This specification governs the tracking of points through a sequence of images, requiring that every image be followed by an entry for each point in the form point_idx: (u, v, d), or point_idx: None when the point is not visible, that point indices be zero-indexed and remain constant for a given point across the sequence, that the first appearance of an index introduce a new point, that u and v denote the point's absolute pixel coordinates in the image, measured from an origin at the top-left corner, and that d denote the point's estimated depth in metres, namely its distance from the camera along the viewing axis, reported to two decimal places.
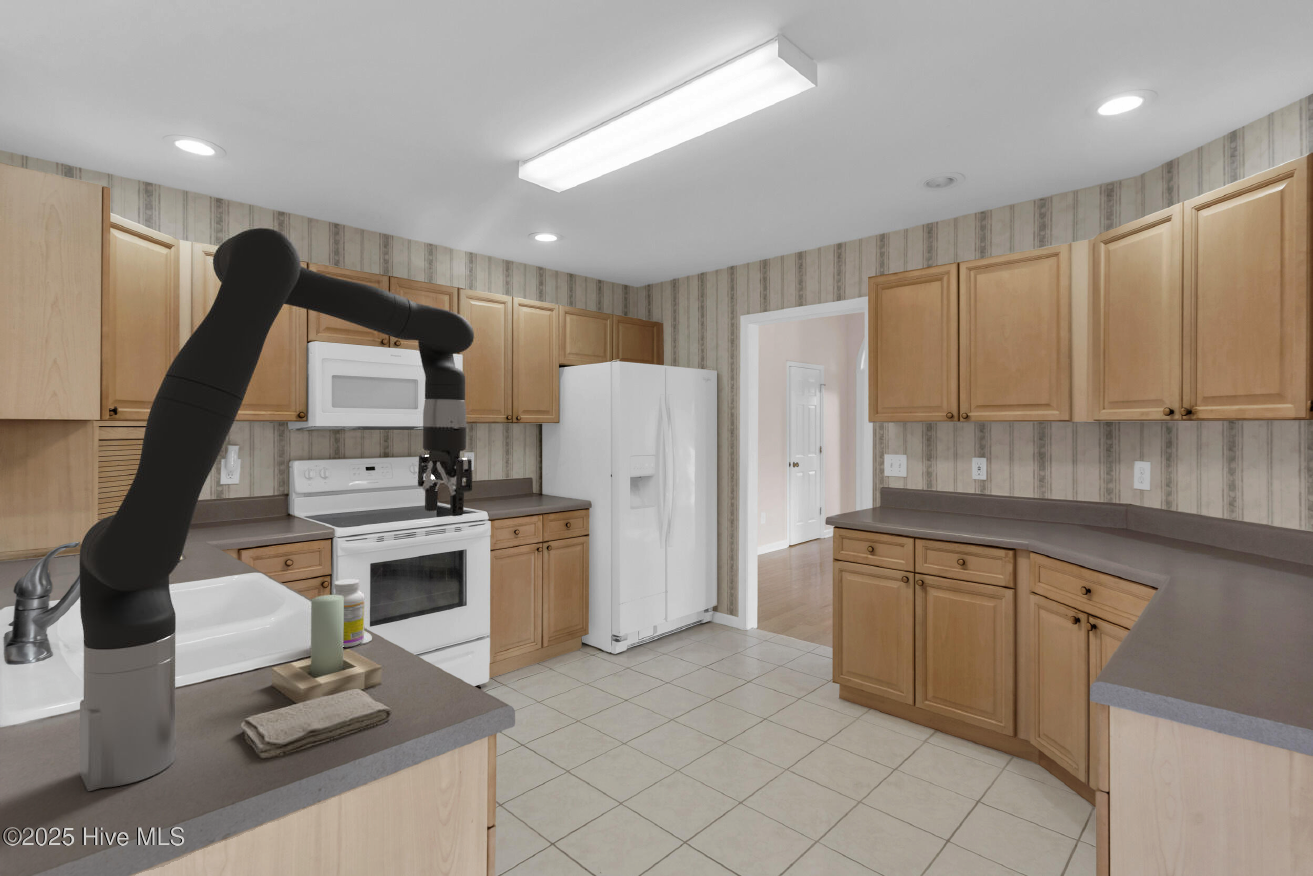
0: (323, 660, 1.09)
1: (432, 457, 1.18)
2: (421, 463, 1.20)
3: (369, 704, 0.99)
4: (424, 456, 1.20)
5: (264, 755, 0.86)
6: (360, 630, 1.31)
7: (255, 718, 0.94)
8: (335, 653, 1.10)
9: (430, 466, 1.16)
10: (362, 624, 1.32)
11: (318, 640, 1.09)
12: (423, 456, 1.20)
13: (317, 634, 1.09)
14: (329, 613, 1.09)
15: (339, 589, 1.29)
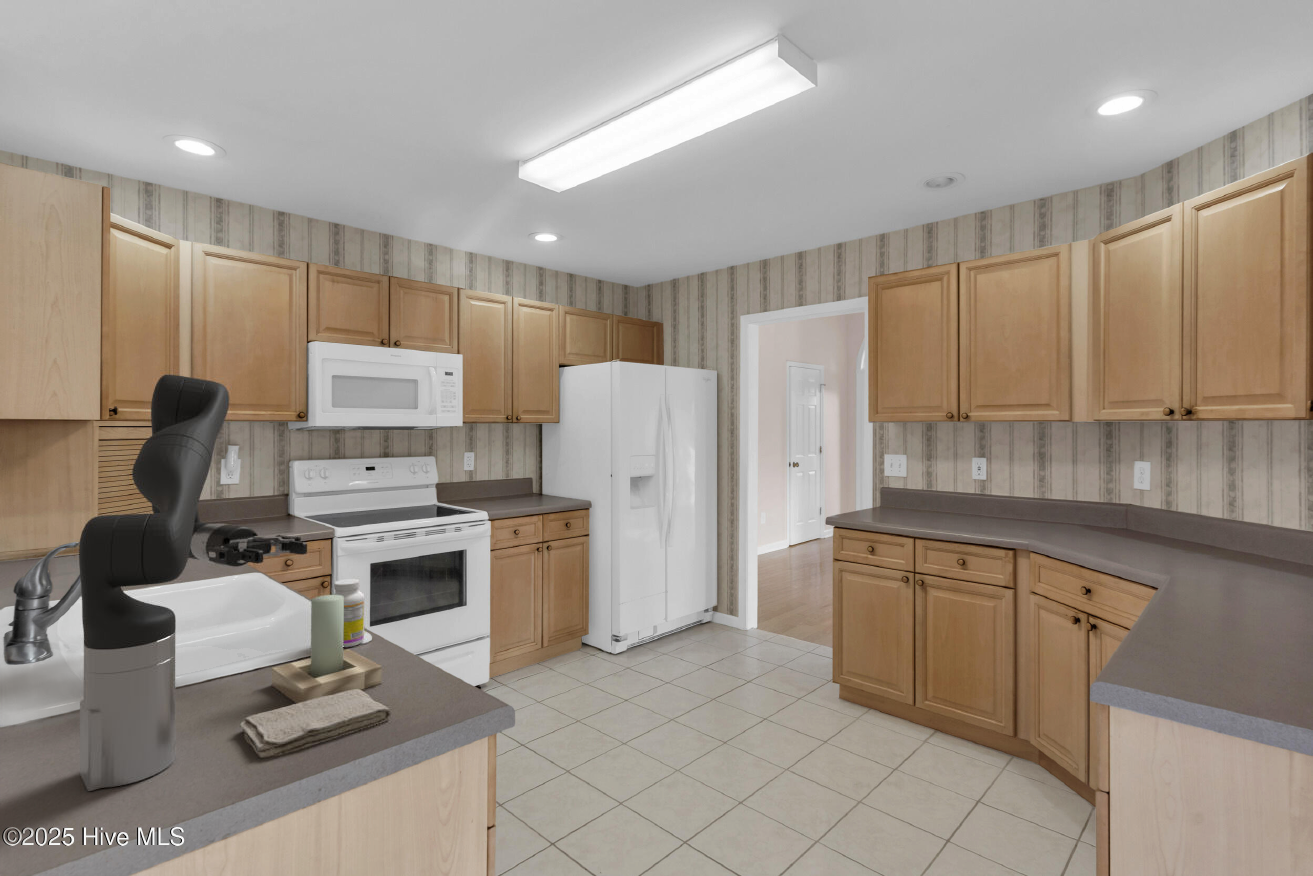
0: (323, 660, 1.09)
1: (234, 543, 1.17)
2: (218, 547, 1.13)
3: (369, 705, 0.99)
4: None
5: (263, 754, 0.86)
6: (360, 630, 1.31)
7: (255, 717, 0.94)
8: (335, 653, 1.10)
9: (244, 538, 1.17)
10: (362, 624, 1.32)
11: (318, 640, 1.09)
12: None
13: (317, 634, 1.09)
14: (329, 613, 1.09)
15: (339, 589, 1.29)
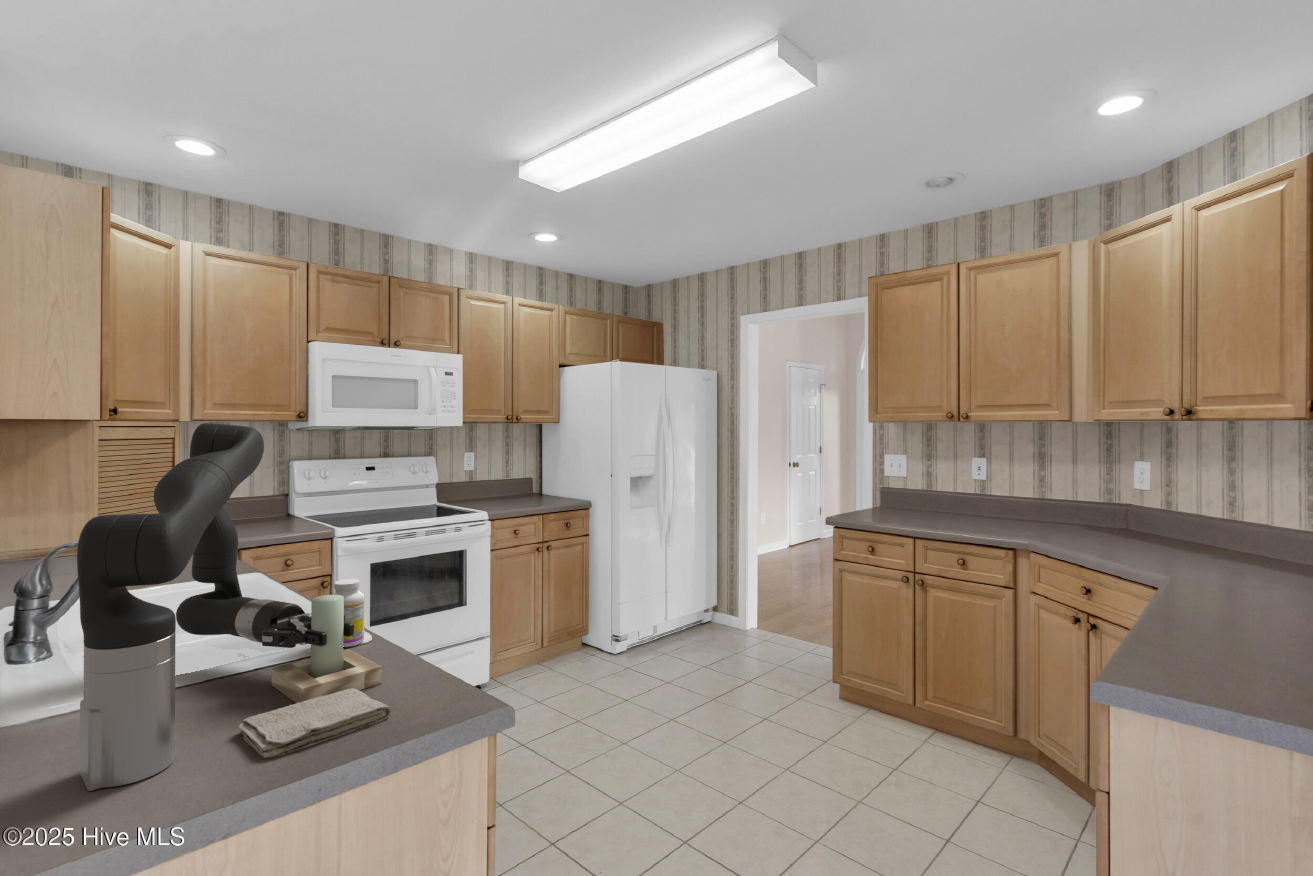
0: (323, 660, 1.09)
1: (280, 623, 1.12)
2: (273, 630, 1.08)
3: (368, 703, 0.99)
4: None
5: (266, 755, 0.86)
6: (360, 630, 1.31)
7: (254, 718, 0.94)
8: (335, 653, 1.10)
9: (293, 618, 1.12)
10: (362, 624, 1.32)
11: None
12: None
13: None
14: (329, 613, 1.09)
15: (339, 589, 1.29)
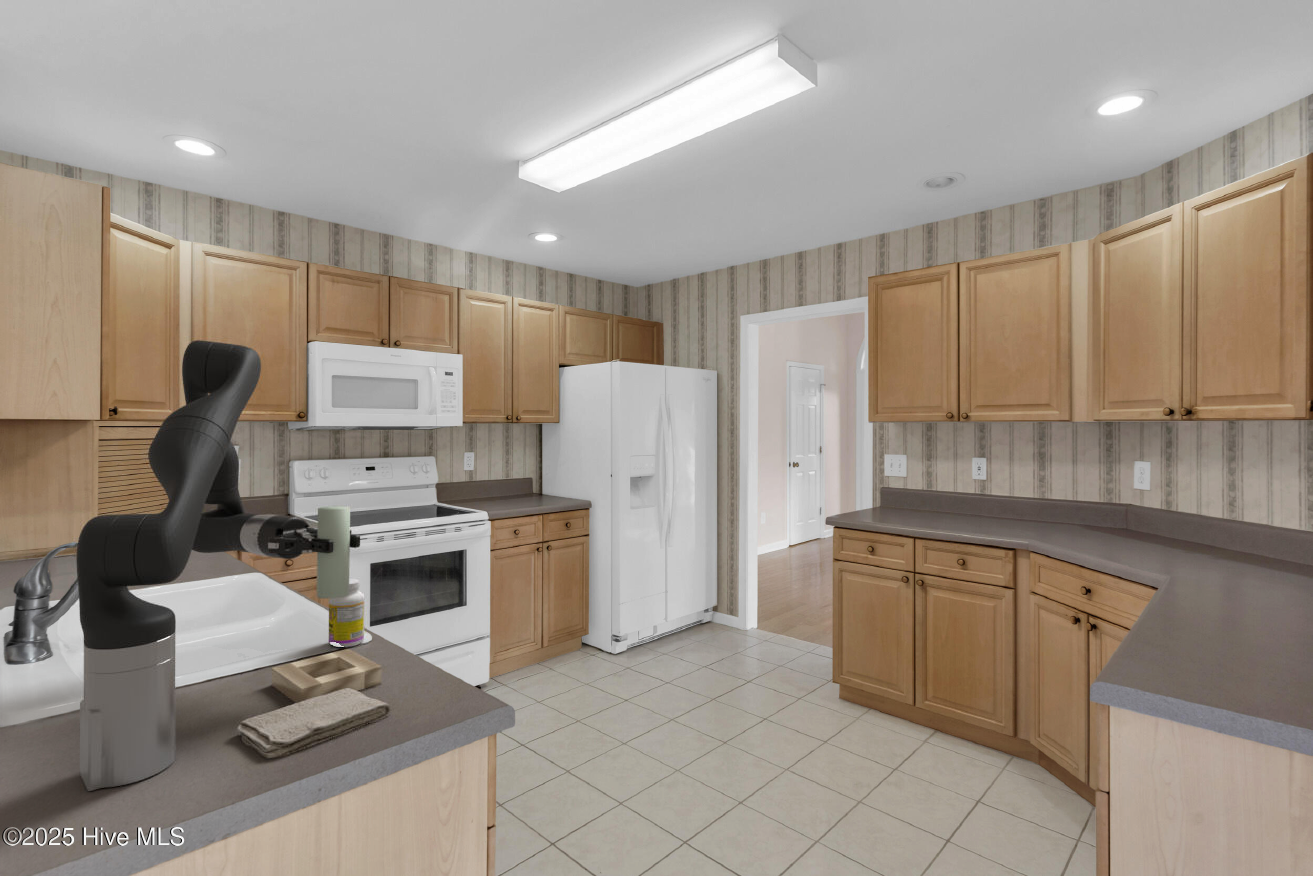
0: (329, 568, 1.08)
1: (286, 534, 1.11)
2: (279, 537, 1.08)
3: (367, 701, 1.00)
4: None
5: (271, 755, 0.86)
6: (360, 630, 1.31)
7: (252, 720, 0.93)
8: (341, 562, 1.09)
9: (299, 529, 1.12)
10: (362, 624, 1.32)
11: None
12: None
13: None
14: (336, 521, 1.08)
15: None
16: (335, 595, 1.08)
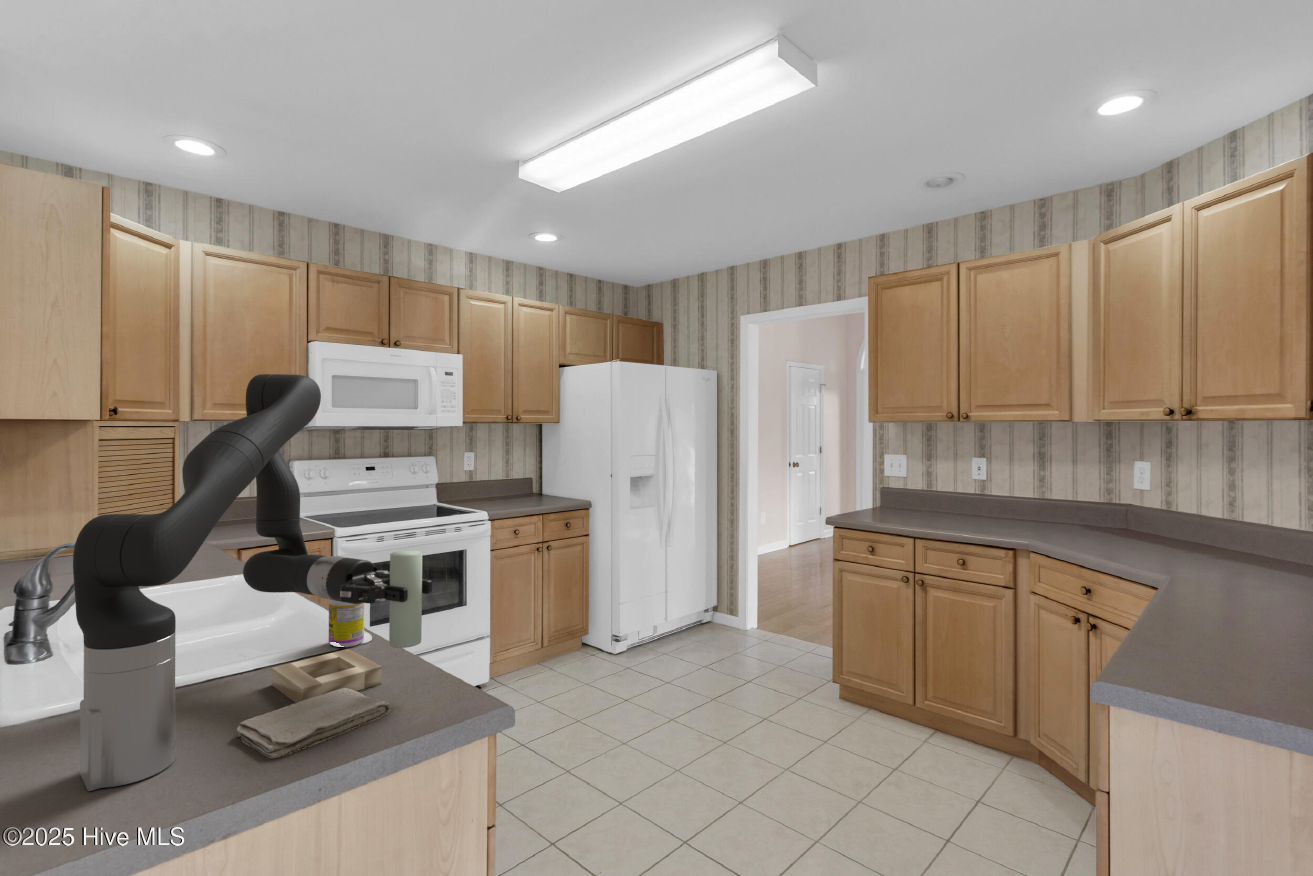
0: (403, 617, 1.04)
1: (356, 579, 1.08)
2: (351, 585, 1.04)
3: (367, 701, 1.00)
4: None
5: (274, 755, 0.86)
6: (360, 630, 1.31)
7: (251, 721, 0.93)
8: (415, 610, 1.05)
9: (369, 574, 1.08)
10: (362, 624, 1.32)
11: None
12: None
13: None
14: (409, 568, 1.04)
15: None
16: (409, 644, 1.05)
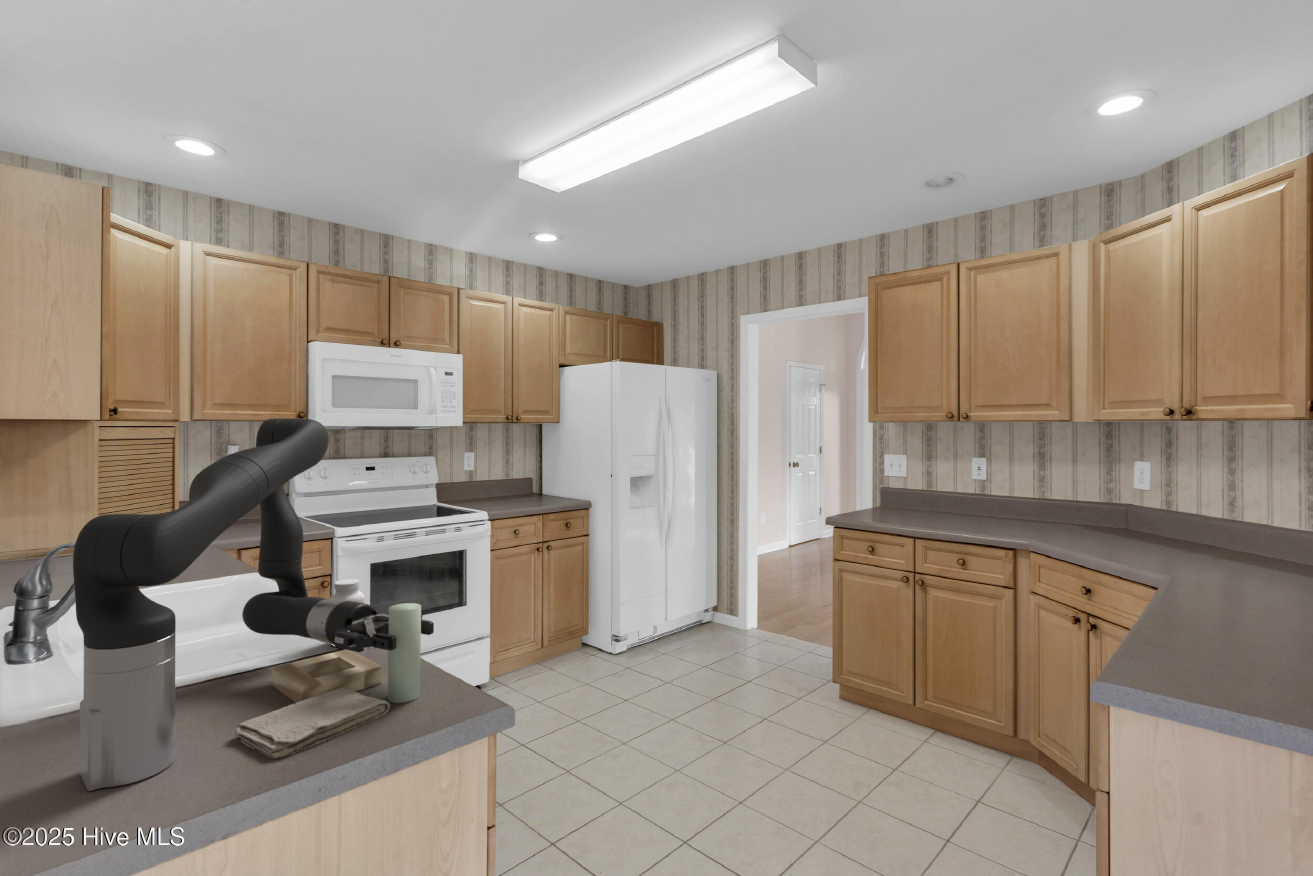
0: (402, 672, 1.04)
1: (357, 624, 1.08)
2: (345, 631, 1.04)
3: (366, 700, 1.00)
4: None
5: (277, 755, 0.86)
6: None
7: (251, 722, 0.92)
8: (413, 664, 1.05)
9: (368, 619, 1.08)
10: None
11: (396, 651, 1.04)
12: None
13: (396, 645, 1.04)
14: (408, 623, 1.04)
15: (339, 589, 1.29)
16: (407, 699, 1.05)
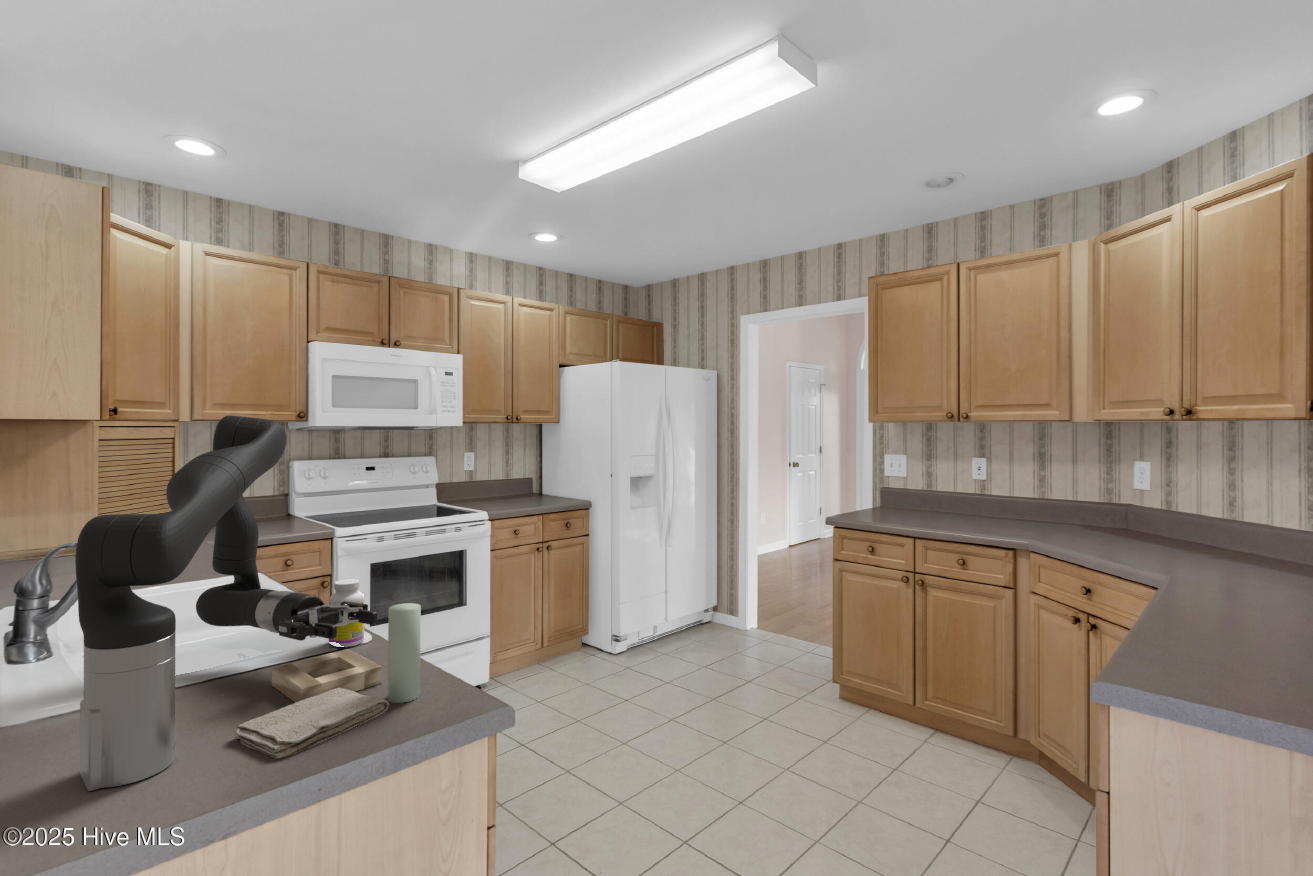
0: (401, 672, 1.04)
1: (302, 614, 1.13)
2: (289, 620, 1.09)
3: (365, 699, 1.01)
4: None
5: (280, 755, 0.86)
6: (360, 630, 1.31)
7: (250, 723, 0.92)
8: (413, 664, 1.05)
9: (313, 609, 1.13)
10: (362, 624, 1.32)
11: (396, 651, 1.04)
12: None
13: (396, 645, 1.04)
14: (408, 623, 1.04)
15: (339, 589, 1.29)
16: (407, 699, 1.05)
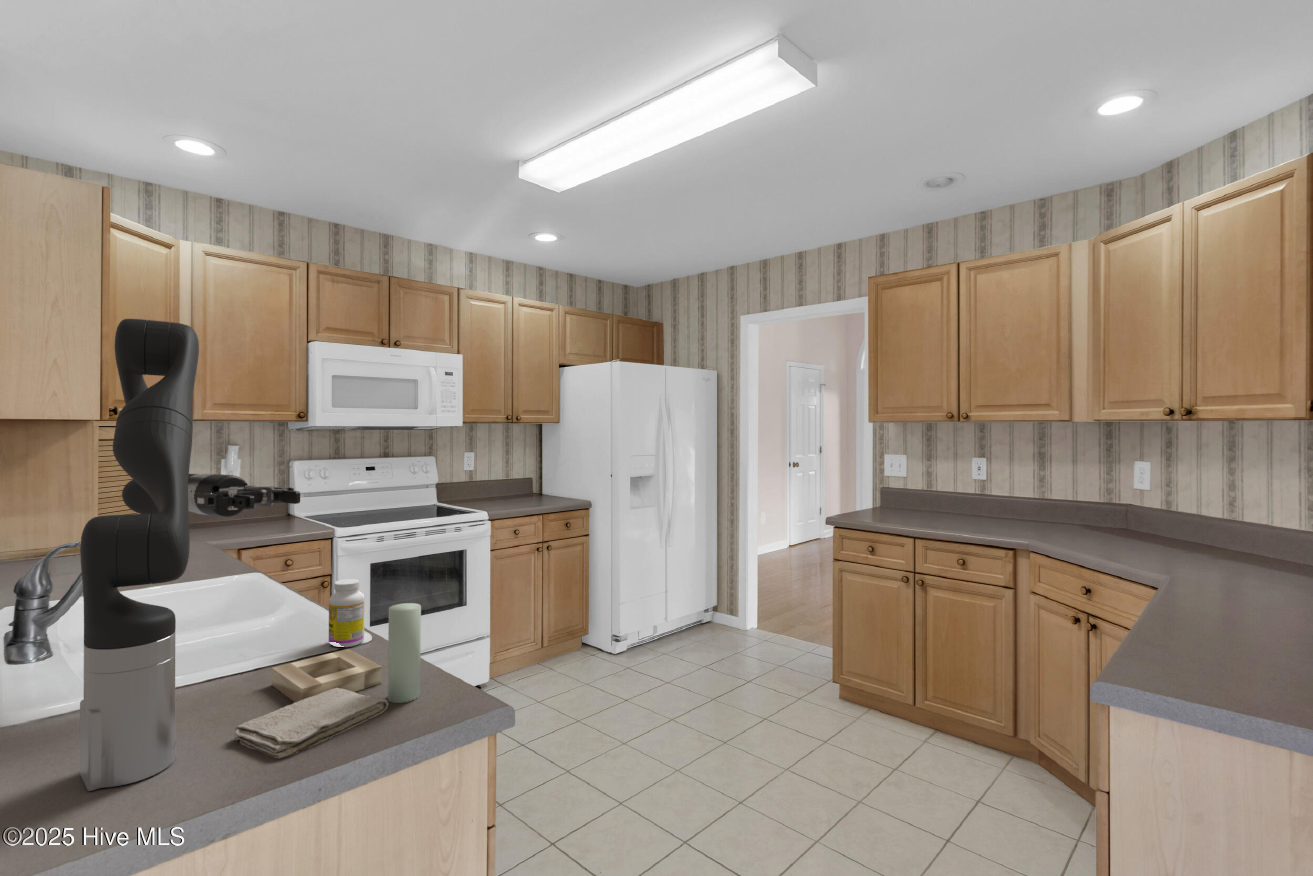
0: (401, 672, 1.04)
1: (224, 491, 1.12)
2: (207, 493, 1.08)
3: (364, 698, 1.01)
4: None
5: (282, 755, 0.86)
6: (360, 630, 1.31)
7: (249, 724, 0.92)
8: (413, 664, 1.05)
9: (234, 486, 1.12)
10: (362, 624, 1.32)
11: (396, 651, 1.04)
12: None
13: (396, 645, 1.04)
14: (408, 623, 1.04)
15: (339, 589, 1.29)
16: (407, 699, 1.05)
